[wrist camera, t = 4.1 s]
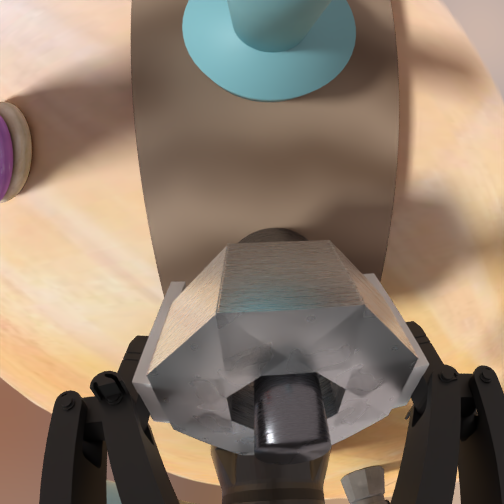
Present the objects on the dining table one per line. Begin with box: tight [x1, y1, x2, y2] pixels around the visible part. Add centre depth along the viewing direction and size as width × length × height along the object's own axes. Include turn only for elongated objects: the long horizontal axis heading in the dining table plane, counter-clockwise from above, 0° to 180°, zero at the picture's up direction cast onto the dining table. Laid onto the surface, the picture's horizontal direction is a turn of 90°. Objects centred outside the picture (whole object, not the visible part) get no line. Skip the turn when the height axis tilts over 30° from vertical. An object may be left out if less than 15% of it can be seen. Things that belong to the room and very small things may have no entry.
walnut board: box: [131, 0, 399, 297], centre depth 15 cm, size 26×14×2 cm, turn 2°
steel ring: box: [146, 240, 418, 455], centre depth 11 cm, size 9×9×4 cm
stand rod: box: [238, 228, 331, 465], centre depth 12 cm, size 6×6×11 cm
